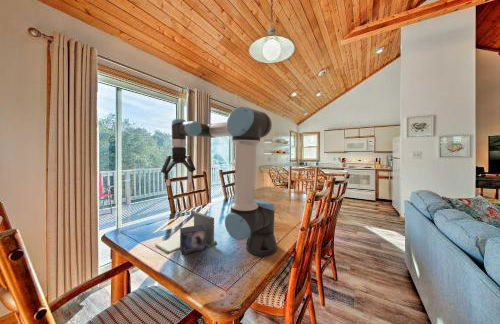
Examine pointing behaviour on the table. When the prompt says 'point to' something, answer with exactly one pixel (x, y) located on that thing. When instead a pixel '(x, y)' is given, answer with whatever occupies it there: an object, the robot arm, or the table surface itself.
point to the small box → (192, 239)
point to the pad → (169, 245)
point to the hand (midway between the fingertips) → (179, 184)
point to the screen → (206, 227)
